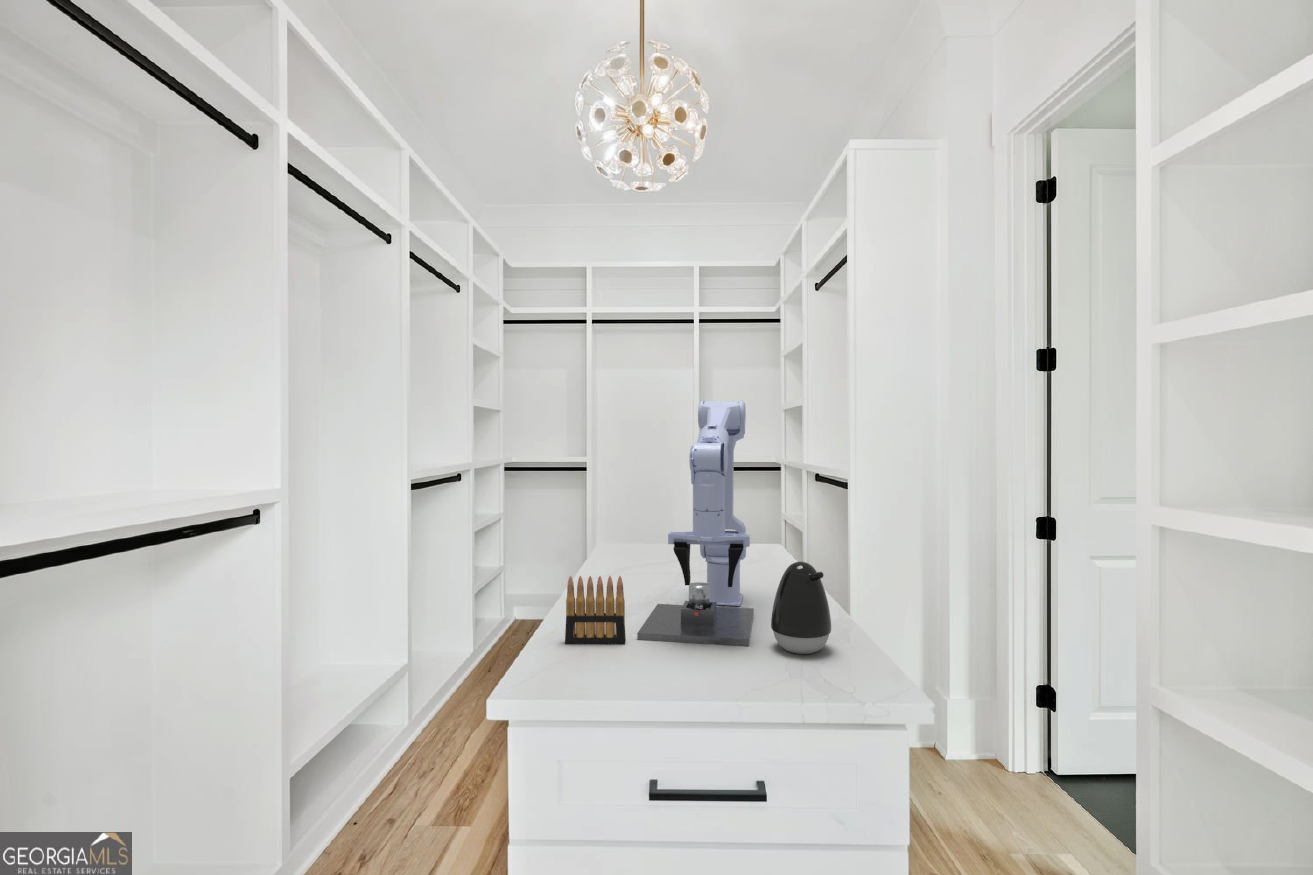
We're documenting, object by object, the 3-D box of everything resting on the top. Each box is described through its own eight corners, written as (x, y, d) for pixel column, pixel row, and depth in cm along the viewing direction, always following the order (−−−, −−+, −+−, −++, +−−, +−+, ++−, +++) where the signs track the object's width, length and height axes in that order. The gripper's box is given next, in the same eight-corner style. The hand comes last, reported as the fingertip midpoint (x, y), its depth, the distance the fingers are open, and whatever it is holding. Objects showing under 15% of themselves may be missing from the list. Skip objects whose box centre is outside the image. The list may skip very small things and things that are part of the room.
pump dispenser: (797, 663, 109) (797, 570, 109) (759, 645, 119) (759, 559, 118) (845, 653, 114) (845, 564, 114) (804, 636, 123) (805, 553, 123)
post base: (657, 609, 141) (657, 590, 141) (753, 614, 138) (753, 594, 138) (637, 639, 122) (637, 617, 122) (748, 646, 118) (748, 623, 118)
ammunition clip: (564, 644, 119) (564, 577, 119) (566, 641, 121) (566, 574, 121) (625, 644, 119) (625, 577, 119) (625, 641, 121) (625, 574, 121)
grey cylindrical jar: (690, 614, 132) (690, 581, 132) (710, 615, 131) (710, 582, 131) (687, 620, 128) (687, 586, 128) (708, 621, 127) (708, 587, 127)
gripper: (665, 511, 118) (665, 588, 118) (748, 513, 115) (748, 592, 116) (671, 506, 125) (671, 579, 125) (750, 508, 122) (750, 582, 123)
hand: (708, 584), depth 121 cm, fingers open, 7 cm apart
